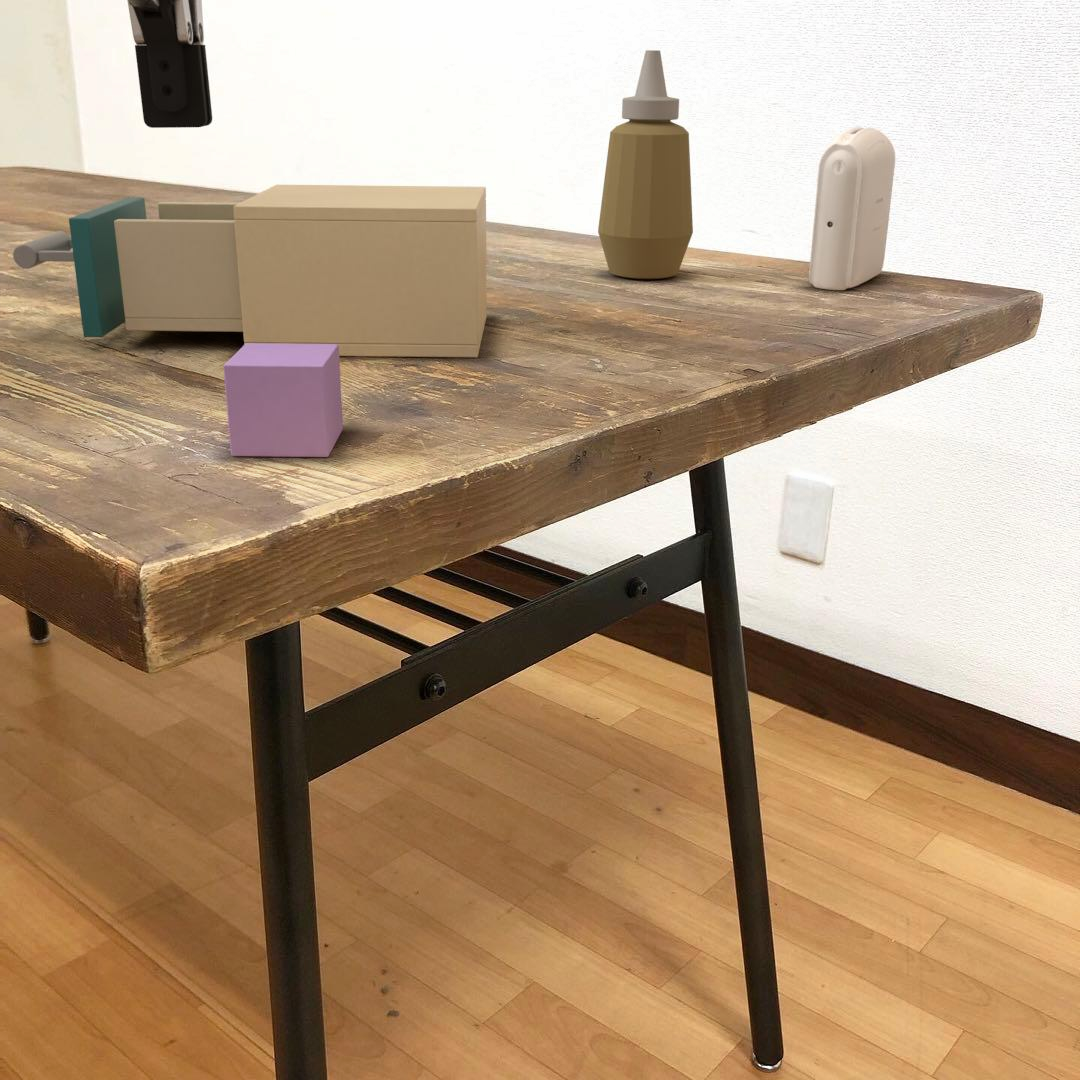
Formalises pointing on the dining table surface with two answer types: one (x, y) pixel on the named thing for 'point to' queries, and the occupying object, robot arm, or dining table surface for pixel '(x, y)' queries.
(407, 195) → the drawer cabinet
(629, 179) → the squeeze bottle
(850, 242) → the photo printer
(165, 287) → the drawer
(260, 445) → the lavender foam cube
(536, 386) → the dining table surface
